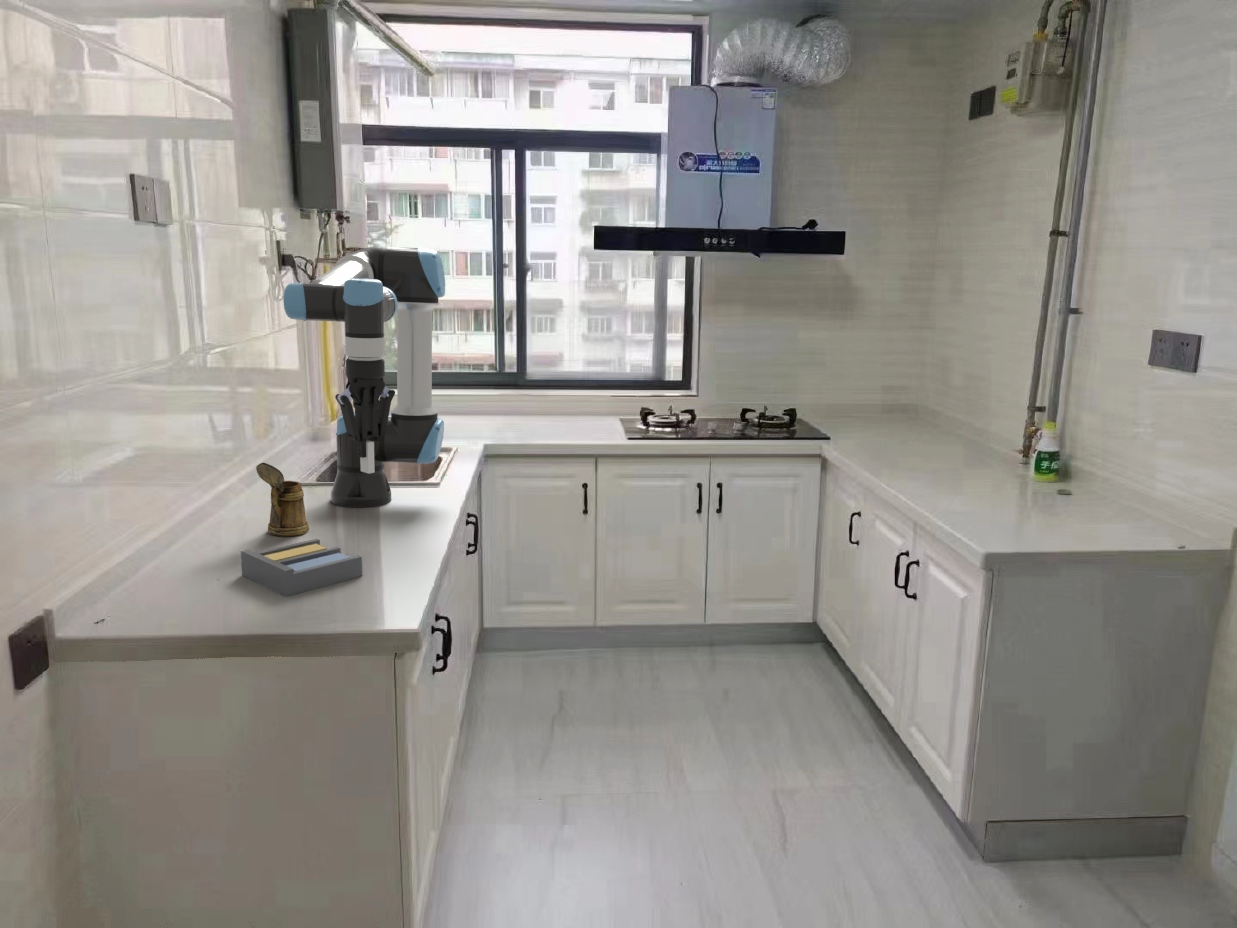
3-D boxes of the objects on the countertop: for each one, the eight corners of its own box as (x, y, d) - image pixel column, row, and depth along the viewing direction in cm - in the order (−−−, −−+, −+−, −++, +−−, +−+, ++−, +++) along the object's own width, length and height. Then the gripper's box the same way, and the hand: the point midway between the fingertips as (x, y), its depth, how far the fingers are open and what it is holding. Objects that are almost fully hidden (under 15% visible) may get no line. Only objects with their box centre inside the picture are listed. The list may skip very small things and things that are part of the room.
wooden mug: (247, 540, 199) (243, 460, 195) (282, 524, 212) (279, 449, 208) (283, 544, 197) (280, 464, 193) (316, 527, 210) (314, 452, 206)
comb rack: (316, 556, 190) (316, 534, 189) (362, 575, 180) (361, 551, 179) (242, 575, 177) (240, 550, 176) (286, 596, 168) (285, 570, 166)
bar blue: (339, 571, 183) (339, 552, 182) (351, 576, 180) (350, 557, 179) (285, 585, 174) (284, 565, 173) (296, 590, 171) (295, 571, 170)
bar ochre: (316, 561, 188) (316, 543, 187) (327, 566, 185) (327, 547, 184) (262, 575, 179) (261, 556, 178) (273, 580, 176) (272, 560, 175)
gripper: (380, 353, 187) (382, 463, 193) (325, 357, 178) (329, 473, 183) (403, 357, 183) (404, 470, 189) (348, 362, 173) (351, 480, 179)
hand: (367, 471), depth 186 cm, fingers closed
